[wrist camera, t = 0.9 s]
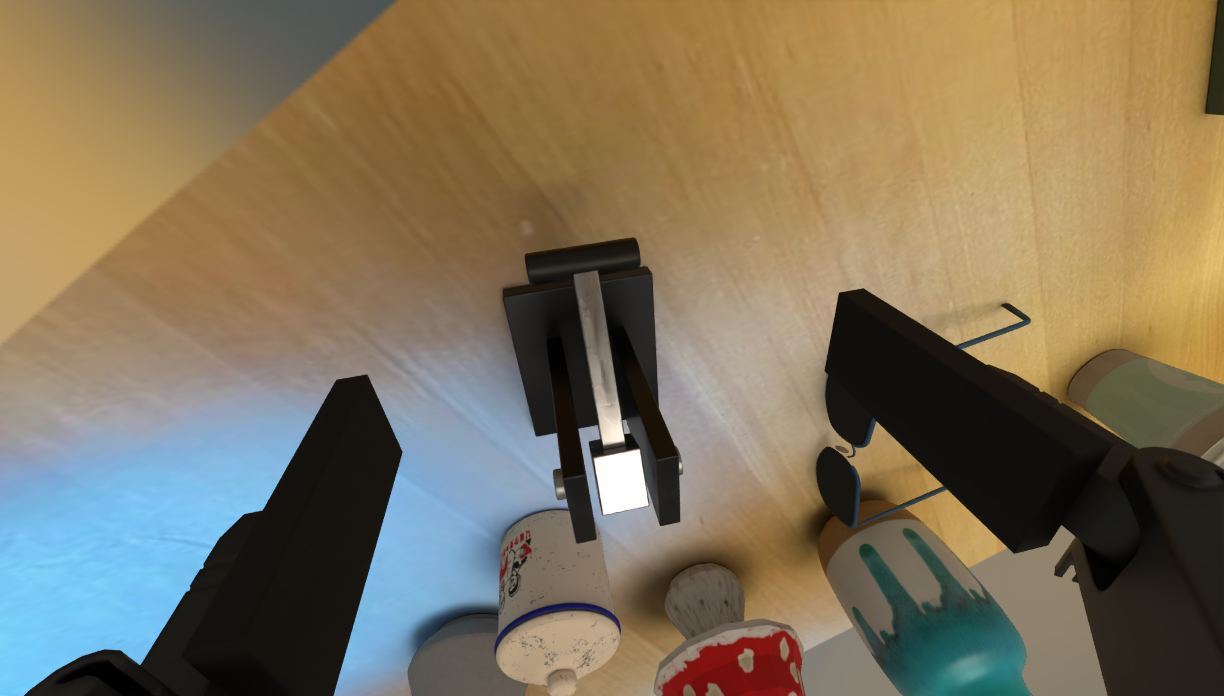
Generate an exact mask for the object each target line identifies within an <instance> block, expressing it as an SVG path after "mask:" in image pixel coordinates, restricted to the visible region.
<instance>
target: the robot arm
mask: <svg viewBox="0 0 1224 696" xmlns="http://www.w3.org/2000/svg"><path fill="white" fill-rule="evenodd" d="M825 372H826V373H827V374H828V375H829V376H830V377H831V378H832V379H833V380H835V381H836V382H837V383H838V384H839V385H840V386H841V387H842V388H843V389H844V390H845V391H846V392H847V393H848V394H849V395H850V396H851V397H852V398H853V399H854V400H855V401H856V402H857V403H858V404H859V405H860V406H861V407H863V408H864V409H865V410H866V411H867V412H868V413H869V414H870V415H871V416H872V417H873V418H874V419H875V420H876V421H877V422H878V423H879V424H880V425H881V426H882V427H883V428H884V429H885V430H886V431H887V432H888V433H889V434H891V435H892V436H893V437H894V438H895V439H896V440H897V441H898V442H899V443H900V444H901V445H902V446H903V447H904V448H905V449H906V450H907V451H908V452H909V453H910V454H911V455H912V456H913V457H914V458H915V459H916V460H917V461H918V462H920V463H921V464H922V465H923V466H924V467H925V468H926V469H927V470H928V471H929V472H930V473H931V474H932V475H933V476H934V477H935V478H936V479H937V480H938V481H939V482H940V483H941V484H942V485H943V486H944V487H945V488H946V489H948V490H949V491H950V492H951V493H952V494H953V495H954V496H955V497H956V498H957V499H958V500H959V501H960V502H961V503H962V504H963V505H964V506H965V507H966V508H967V509H968V510H969V511H970V512H971V513H972V514H973V515H974V516H976V517H977V518H978V519H979V520H980V521H981V522H982V523H983V524H984V525H985V526H986V527H987V528H988V529H989V530H990V531H991V532H992V533H993V534H994V535H995V536H996V537H997V538H998V539H999V540H1000V541H1001V542H1002V543H1004V544H1005V545H1006V546H1007V547H1008V548H1009V549H1010V550H1011V551H1012V552H1013V553H1014V554H1015V553H1019V552H1023V551H1027V550H1031V549H1035V548H1039V547H1043V546H1047V545H1048V544H1049V543H1050V541H1051V540H1052V538H1053V537H1054V535H1055V534H1056V532H1057V531H1058V529H1059V528H1060V526H1061V525H1062V526H1064V527H1065V528H1066V529H1067V530H1069V531H1070V532H1071V533H1072V534H1073V535H1075V536H1076V537H1075V539H1074V540H1073V541H1072V543H1071V545H1070V546H1069V547H1068V549H1067V550H1066V552H1065V553H1064V554H1063V556H1062V558H1061V559H1060V561H1059V562H1058V563H1057V565H1056V566H1055V573H1054V575H1055V576H1058V577H1062V576H1063V575H1064V574H1065V572H1066V571H1067V569H1068V568H1069V567H1070V565H1074V567H1075V571H1076V575H1075V576H1074V577H1073V579H1072V581H1073V582H1077V583H1079V587H1080V591H1081V595H1082V598H1083V602H1084V606H1085V610H1086V614H1087V618H1088V622H1089V625H1090V629H1091V633H1092V637H1093V641H1094V645H1095V649H1096V652H1097V656H1098V660H1099V664H1100V668H1101V671H1102V676H1103V679H1104V683H1105V687H1106V691H1107V695H1108V696H1224V469H1222V468H1221V467H1219V466H1218V465H1216V464H1214V463H1212V462H1210V461H1207V460H1205V459H1203V458H1201V457H1198V456H1196V455H1193V454H1190V453H1186V452H1183V451H1179V450H1176V449H1172V448H1163V447H1155V446H1153V447H1145V448H1140V449H1138V448H1136V447H1135V446H1133V445H1131V444H1129V443H1128V442H1126V441H1125V440H1123V439H1121V438H1120V437H1118V436H1116V435H1115V434H1113V433H1111V432H1110V431H1108V430H1106V429H1105V428H1103V427H1101V426H1100V425H1098V424H1096V423H1095V422H1093V421H1092V420H1090V419H1088V418H1087V417H1085V416H1083V415H1082V414H1080V413H1078V412H1077V411H1075V410H1073V409H1072V408H1070V407H1068V406H1067V405H1065V404H1063V403H1061V404H1059V403H1058V400H1057V399H1055V398H1054V397H1052V396H1050V395H1049V394H1047V393H1045V392H1040V391H1039V388H1037V387H1035V386H1034V385H1032V384H1030V383H1029V382H1027V381H1026V380H1024V379H1022V378H1021V377H1019V376H1017V375H1015V374H1013V373H1010V372H1007V371H1005V370H1002V369H999V368H997V367H994V366H992V365H985V364H984V363H982V362H981V361H979V360H977V359H976V358H974V357H973V356H971V355H969V354H968V353H966V352H965V351H963V350H961V349H960V348H958V347H957V346H955V345H953V344H952V343H950V342H949V341H947V340H945V339H944V338H942V337H941V336H939V335H937V334H936V333H934V332H933V331H931V330H929V329H928V328H926V327H924V326H923V325H921V324H920V323H918V322H916V321H915V320H913V319H912V318H910V317H908V316H907V315H905V314H904V313H902V312H900V311H899V310H897V309H896V308H894V307H892V306H891V305H889V304H888V303H886V302H884V301H883V300H881V299H880V298H878V297H876V296H875V295H873V294H872V293H870V292H868V291H867V290H865V289H864V288H863V289H857V290H851V291H846V292H840V293H839V295H838V301H837V306H836V312H835V317H834V322H833V328H832V333H831V339H830V344H829V350H828V355H827V361H826V366H825ZM401 456H402V450H401V448H400V445H399V443H398V441H397V439H396V437H395V434H394V432H393V430H392V428H391V426H390V423H389V421H388V419H387V417H386V415H385V412H384V410H383V408H382V406H381V403H380V401H379V399H378V397H377V395H376V392H375V390H374V388H373V386H372V384H371V381H370V379H369V377H368V375H361V376H356V377H350V378H344V379H338V380H336V381H335V383H334V385H333V387H332V388H331V390H330V392H329V394H328V395H327V397H326V399H325V401H324V403H323V404H322V406H321V408H320V410H319V411H318V413H317V415H316V417H315V419H314V420H313V422H312V424H311V426H310V427H309V429H308V431H307V433H306V435H305V436H304V438H303V440H302V442H301V443H300V445H299V447H298V449H297V451H296V452H295V454H294V456H293V458H292V459H291V461H290V463H289V465H288V467H287V468H286V470H285V472H284V474H283V475H282V477H281V479H280V481H279V483H278V484H277V486H276V488H275V490H274V491H273V493H272V495H271V497H270V499H269V500H268V502H267V504H266V506H265V507H264V509H263V511H258V512H253V513H248V514H244V515H243V516H242V517H241V518H240V519H239V520H238V521H237V522H236V523H235V524H234V525H233V526H232V527H231V528H229V529H228V530H227V531H226V532H225V533H224V534H223V535H222V536H221V537H220V538H219V540H218V541H217V543H216V545H215V546H214V548H213V549H212V551H211V553H210V554H209V556H208V557H207V559H206V561H205V562H204V564H203V565H204V568H203V569H200V570H199V572H198V574H197V575H196V577H195V578H194V580H193V582H192V583H191V585H190V591H187V592H186V593H185V594H184V596H183V598H182V599H181V601H180V603H179V604H178V606H177V607H176V609H175V611H174V612H173V614H172V615H171V617H170V619H169V620H168V622H167V623H166V625H165V627H164V628H163V630H162V631H161V633H160V635H159V636H158V638H157V639H156V641H155V643H154V644H153V646H152V648H151V649H150V651H149V652H148V654H147V656H146V657H145V659H144V660H143V662H142V664H141V665H139V664H138V663H136V662H135V661H134V660H132V659H131V658H130V657H128V656H127V655H126V654H125V653H123V652H122V651H121V650H106V649H104V650H101V651H98V652H94V653H91V654H88V655H85V656H82V657H80V658H78V659H76V660H74V661H72V662H71V663H69V664H67V665H65V666H63V667H61V668H60V669H58V670H56V671H54V672H53V673H52V674H50V675H49V676H48V677H47V678H45V679H44V680H43V681H41V682H40V683H39V684H37V685H36V686H35V687H33V688H32V689H31V690H29V691H28V692H27V693H26V694H25V695H24V696H333V695H334V692H335V688H336V685H337V681H338V678H339V674H340V671H341V667H342V664H343V660H344V657H345V653H346V650H347V646H348V643H349V639H350V636H351V632H352V629H353V625H354V622H355V618H356V614H357V611H358V607H359V604H360V600H361V597H362V593H363V590H364V586H365V583H366V579H367V576H368V572H369V569H370V565H371V562H372V558H373V555H374V551H375V548H376V544H377V540H378V537H379V533H380V530H381V526H382V523H383V519H384V516H385V512H386V509H387V505H388V502H389V498H390V495H391V491H392V488H393V484H394V481H395V477H396V474H397V470H398V467H399V463H400V459H401Z"/></svg>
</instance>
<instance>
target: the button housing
mask: <svg viewBox="0 0 1224 696" xmlns="http://www.w3.org/2000/svg"><path fill="white" fill-rule="evenodd" d="M1206 114H1214V115H1224V0H1219V6H1218V14H1217V23H1216V32H1215V41H1214V49H1213V58H1212V67H1211V76H1210V84H1209V93H1208V102H1207V111H1206Z"/></svg>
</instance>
